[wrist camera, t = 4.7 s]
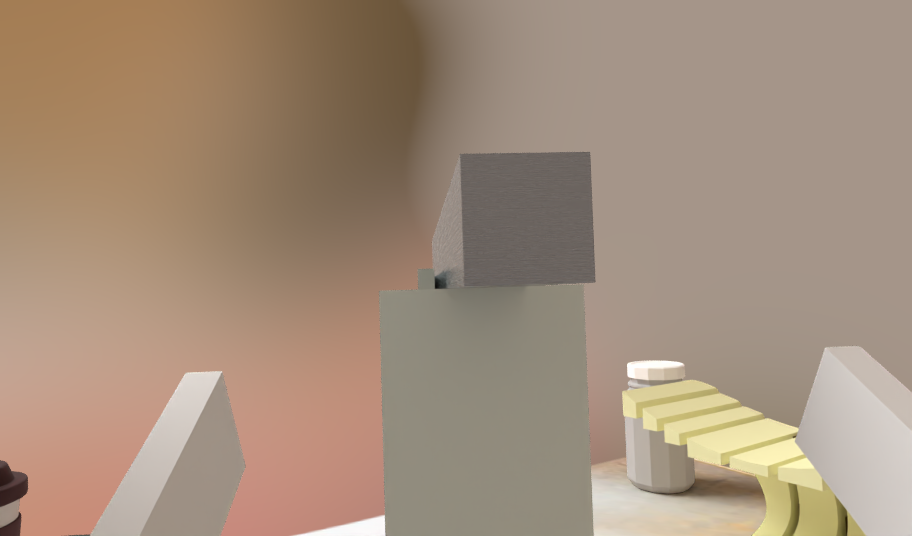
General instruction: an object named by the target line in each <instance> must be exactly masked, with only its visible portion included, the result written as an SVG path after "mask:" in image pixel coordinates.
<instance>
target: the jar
mask: <svg viewBox="0 0 912 536" xmlns="http://www.w3.org/2000/svg"><path fill="white" fill-rule="evenodd" d="M627 369H628V377H630V378H631V381H629V382H628V386H630V387H629V389H628V390H633V389H639V388H645V387H651V386H657V385H663V384H669V383H675V382H681V381H682V378H685V366H684V364H683V363H679V362H672V361H636V362H631V363H628V365H627ZM625 431H626V451H627V452H626V453H627V477H628V479H629V480H630V481H631V482H632V484H633V485H635V486H636V487H638V488H639V489H641V490H645V491H649V492H653V493H666V494H671V493H680V492H684V491H686V490H688V489H689V488H690V487H691V486H692V485H693V484H694V482H695V471H694V458H691V457H688V449H687V444H685V445H681V446H679V445H675V444H670V443H666V442H665V437H664V430H663V431H658V432H657V431H652V430H648V429H643V417H642V418H637V419H636V418H631V417H626V416H625Z"/></svg>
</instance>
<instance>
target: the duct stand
mask: <svg viewBox="0 0 912 536" xmlns="http://www.w3.org/2000/svg"><path fill="white" fill-rule="evenodd" d="M379 301H380V302H379V304H380V339H381V340H380V342H381V380H382V417H383V455H384V495H385V533H386V536H594V533H593V508H592V483H591V459H590V434H589V408H588V385H587V384H588V383H587V360H586V359H587V358H586V335H585V334H586V333H585V311H584V310H585V308H584V285H551V286H545V285H541V286H519V287H487V288H455V289H435V277H434V269H418V290H393V291H392V290H391V291H379Z"/></svg>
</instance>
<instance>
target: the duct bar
mask: <svg viewBox="0 0 912 536" xmlns="http://www.w3.org/2000/svg"><path fill="white" fill-rule="evenodd" d="M432 251H433V269H434V277H435V289H455V288H487V287H519V286H541V285H558V284H576V283H593V282H595V261H594V236H593V212H592V187H591V162H590V152H560V153H499V154H498V153H493V154H460V156H459V159H458V162H457V165H456V168H455V171H454V174H453V177H452V181H451V184H450V187H449V190H448V194H447V196H446V199H445V202H444V205H443V209H442V212H441V215H440V218H439V221H438V224H437V227H436V230H435V233H434V237H433V240H432Z"/></svg>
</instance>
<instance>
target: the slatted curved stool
mask: <svg viewBox="0 0 912 536" xmlns="http://www.w3.org/2000/svg"><path fill="white" fill-rule="evenodd" d="M622 393H623V416H626V417H631V418H636V419H637V418H642V417H643V429H648V430H652V431H657V432H658V431H663V430H664V437H665V442H666V443H670V444H675V445H679V446H681V445H685V444H687V449H688V457H691V458H695V459H698V460H702V461H706V462H710V463H714V464H718V465H724V464H727V463H730V468H734V469H738V470H742V471H745V472H749V473H753V474H755V476H756V477H757V479H758V481H759V483H760V485H761V488H762V490H763V493H764V496H765V499H766V506H767V511H766V516H765V519H764V521H763V523H762V525H761V526H760V527H759V529H758V530H757V531H756V532H755V533H754V534H752V535H751V536H866V535H865V533H864V532H863V531H862V529H861V528H860V527H859V525H858V524H857V523H856V522H855V520H854V519H853V518H852V516H851V515H850V514H849V512H848V511H847V510H846V508H845V507H844V506H843V504H842V503H841V502H840V501H839V499H838V498H837V497H836V495H835V494H834V493H833V491H832V490H831V489H830V487H829V486H828V485H827V484H826V482H825V481H824V480H823V478H822V477H821V476H820V474H819V473H818V472H817V470H816V469H815V468H814V466H813V465H812V464H811V463H810V461H809V460H808V459H807V457H806V456H805V455H804V453H803V452H802V451H801V449H800V448H799V447H798V445H797V444H796V443H795V439H796V436H797V433H798V430H799V428H796V427H793V426H790V425H786V424H783V423H780V422H777V421H774V420H771V419H769V418H767V419H765V418H764V415H763V414H762V413H760V412H757V411H755V410H752V409H750V408H747V407H745V406H744V407H742V406H741V404H740V401H737V400H735V399H733V398H731V397H729V396H726V395H723V394H721V393H719V391H718V390H717V388H716V387H713V386H711V385H709V384H706V383H703V382H700V381H696V380H687V381H681V382H675V383H669V384H663V385H657V386H651V387H645V388H639V389H633V390H627V391H623V392H622Z"/></svg>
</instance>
